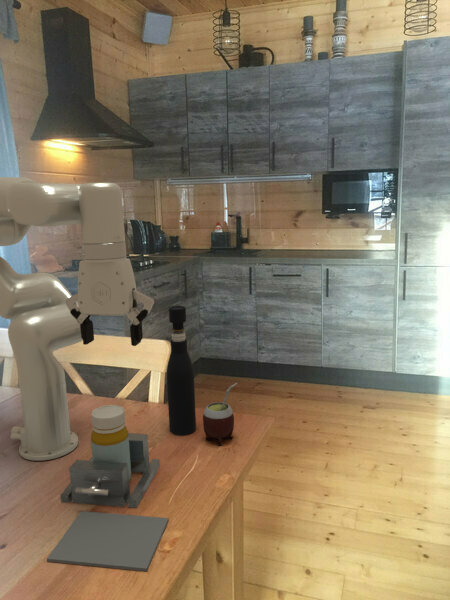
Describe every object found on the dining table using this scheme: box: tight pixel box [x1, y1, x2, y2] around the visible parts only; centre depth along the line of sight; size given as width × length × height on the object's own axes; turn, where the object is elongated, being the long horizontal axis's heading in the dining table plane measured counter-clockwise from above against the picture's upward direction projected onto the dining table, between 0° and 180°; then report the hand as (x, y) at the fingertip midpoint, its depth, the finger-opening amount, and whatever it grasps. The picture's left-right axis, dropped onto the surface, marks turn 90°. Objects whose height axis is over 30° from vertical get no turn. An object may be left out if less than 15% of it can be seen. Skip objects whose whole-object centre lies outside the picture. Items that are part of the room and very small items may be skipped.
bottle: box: [90, 404, 132, 483], centre depth 96 cm, size 7×7×15 cm
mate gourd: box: [202, 381, 239, 447], centre depth 112 cm, size 8×8×15 cm
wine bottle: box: [166, 305, 197, 437], centre depth 116 cm, size 6×6×30 cm
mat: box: [46, 510, 169, 572], centre depth 81 cm, size 16×12×1 cm
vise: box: [60, 432, 161, 509], centre depth 96 cm, size 14×17×7 cm
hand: (112, 343), depth 93 cm, fingers open, 9 cm apart
